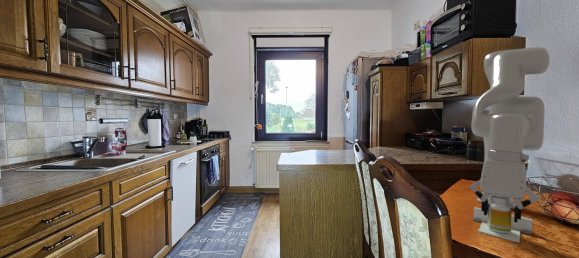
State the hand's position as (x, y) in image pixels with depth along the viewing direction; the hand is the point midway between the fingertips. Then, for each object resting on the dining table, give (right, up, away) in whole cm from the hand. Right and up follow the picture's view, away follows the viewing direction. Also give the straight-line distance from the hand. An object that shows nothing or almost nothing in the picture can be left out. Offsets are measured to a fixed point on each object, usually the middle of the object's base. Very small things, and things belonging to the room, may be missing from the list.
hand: (500, 217), depth 75 cm
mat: (0, -5, 0) cm, 5 cm away
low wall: (+4, -4, +5) cm, 8 cm away
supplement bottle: (0, -4, 0) cm, 4 cm away
